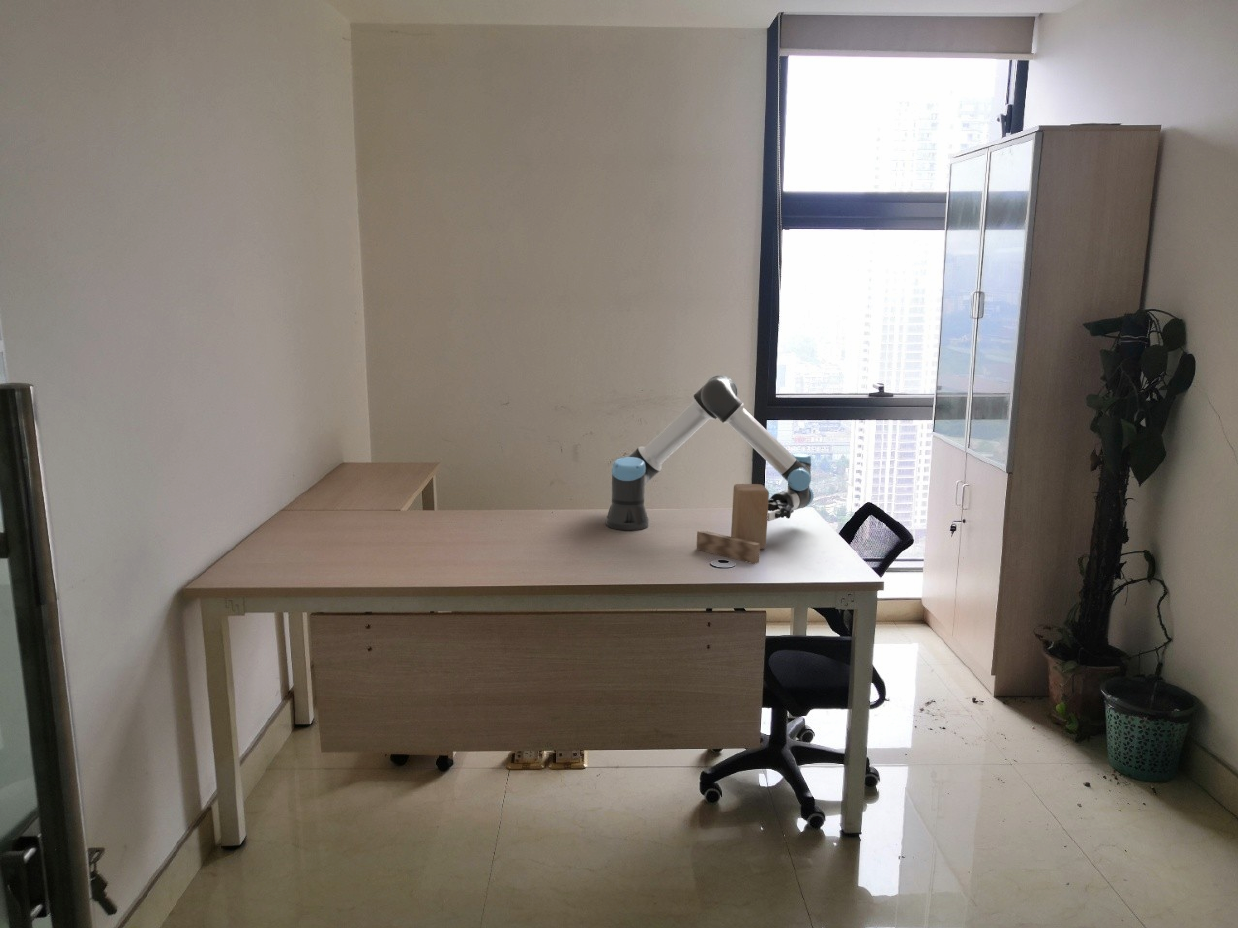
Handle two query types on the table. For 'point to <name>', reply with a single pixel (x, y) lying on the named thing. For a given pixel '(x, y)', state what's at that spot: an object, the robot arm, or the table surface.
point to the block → (750, 513)
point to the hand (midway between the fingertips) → (751, 513)
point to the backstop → (728, 546)
